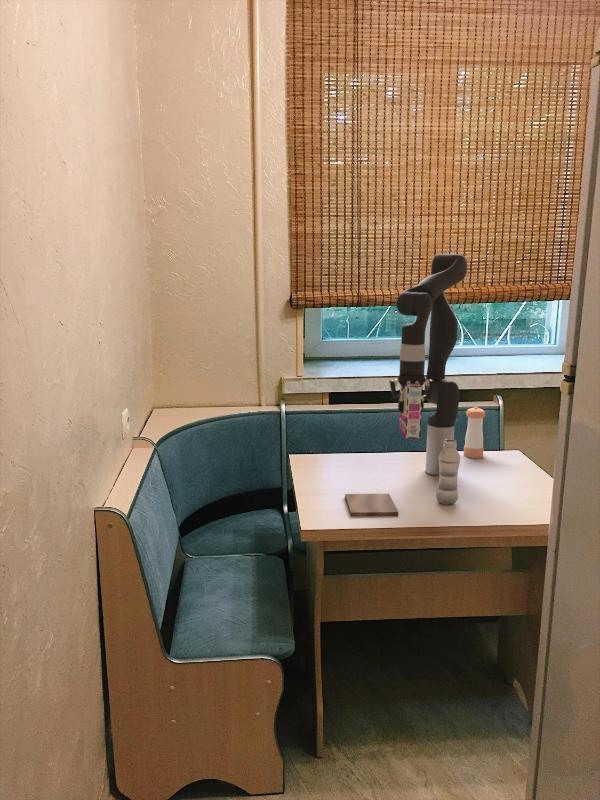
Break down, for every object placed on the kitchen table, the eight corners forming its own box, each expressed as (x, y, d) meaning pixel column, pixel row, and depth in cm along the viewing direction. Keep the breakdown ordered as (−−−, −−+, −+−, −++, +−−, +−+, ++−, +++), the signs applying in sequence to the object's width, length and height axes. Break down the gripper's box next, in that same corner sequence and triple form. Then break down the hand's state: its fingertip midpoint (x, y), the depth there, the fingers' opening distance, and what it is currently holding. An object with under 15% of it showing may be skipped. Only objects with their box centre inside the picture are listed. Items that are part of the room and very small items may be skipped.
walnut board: (388, 497, 221) (389, 493, 221) (398, 515, 206) (398, 511, 205) (344, 497, 220) (344, 494, 220) (350, 516, 205) (350, 512, 205)
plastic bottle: (433, 499, 219) (436, 438, 215) (454, 499, 220) (457, 437, 215) (439, 507, 213) (442, 443, 209) (460, 506, 213) (464, 443, 209)
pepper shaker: (464, 457, 264) (466, 408, 260) (462, 452, 271) (465, 404, 267) (483, 458, 263) (486, 409, 259) (482, 453, 270) (485, 404, 266)
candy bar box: (421, 439, 213) (423, 386, 209) (405, 439, 213) (407, 386, 209) (413, 429, 224) (415, 379, 220) (398, 430, 224) (400, 379, 220)
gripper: (432, 356, 217) (430, 409, 221) (387, 356, 217) (385, 410, 220) (438, 360, 210) (436, 415, 213) (391, 360, 209) (389, 415, 213)
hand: (410, 412), depth 217 cm, fingers closed on candy bar box, 5 cm apart
